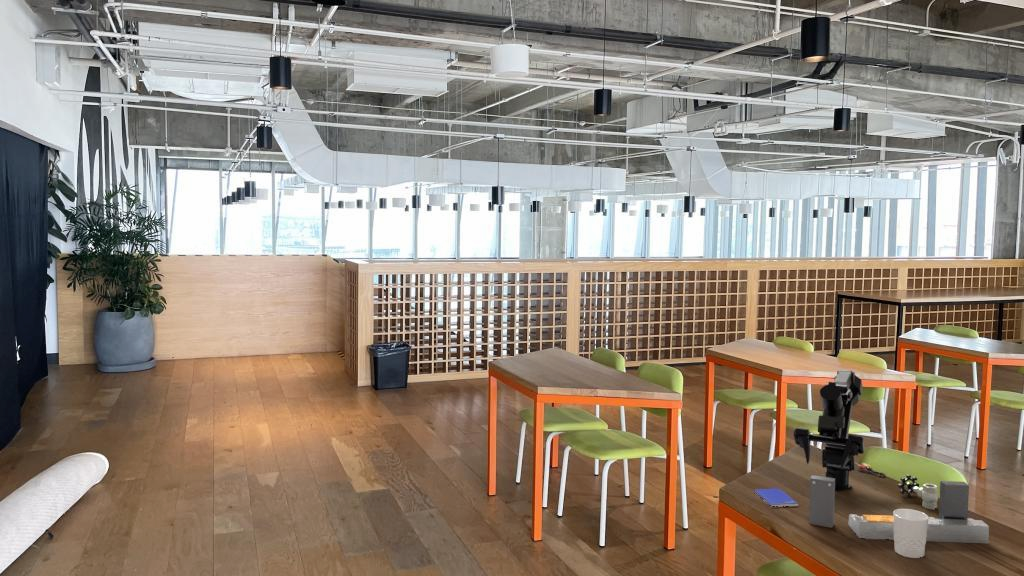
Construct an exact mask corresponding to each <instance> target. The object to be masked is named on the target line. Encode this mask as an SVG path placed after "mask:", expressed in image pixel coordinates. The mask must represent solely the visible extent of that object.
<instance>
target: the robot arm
mask: <svg viewBox="0 0 1024 576" xmlns="http://www.w3.org/2000/svg"><path fill="white" fill-rule="evenodd" d="M862 394H863V382H862V379H861V378H860V377H859V376H858V375H856V373H855V371H854V370H848V369H847V370H846V369H839V370H837V373H836V375H835V376H834V378H833V381H828V382H826V383H825V384H824V386H822V387H821V388H820V390H819V396H820V401H821V407H822V408H823V410H822V414H821V415H818V421H817V433H818V434H815V433H811V432H810V429H809V428H803V427H796V428H795V429H794V431H793V437H794V438H793V439H794V443H795V445H797V446H799V448H802V449H803V451H804V454H805V461H806V464H807V465H809V463H810V459H811V442H817V443H824V444H825V445H824V447H823V448H822V455H821V457H822V458H821V464H822V468H826V472H825V477H829V478H835V491H837V492H839V491H843V490H849V489H853V485H850V484H849V480H850V479H849V477H850V472H852V471H856V470H855V466H856V465H855V463H856V462H855V456H859V454H860V455H863V454H864V453H865V440H864V437H863V435H857V434H851V433H850V431H849V430H850V425H851V419H852V412H853V407H854V406H855V405H856V404H858V403H859V401H860V396H862ZM849 433H850V434H849Z"/></svg>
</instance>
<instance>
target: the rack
mask: <svg viewBox="0 0 1024 576" xmlns="http://www.w3.org/2000/svg"><path fill="white" fill-rule="evenodd" d="M939 482H940V483H939V484H940V485H939V505H938V507H939V508H938V518H935V517H934V516H928V527H927V537H926V542H936V543H937V542H940V543H942V542H944V543H967V544H969V543H970V544H972V543H973V544H989V539H990V538H989V535H990V526H989V525H988V524H987V523H986V522H984V521H983V520H980V519H974V518H973V517H972V518H968V517H969V499H970V498H969V497H970V485H969V484H968V483H967V482H965V481H954V480H953V481H952V480H940V481H939ZM847 523H848V524H847V525H848V527H850V529H851V530H852V531H853V532H854V533H856V534H855V535H856V536H857V537H858V539H859V538H865V540H885V539H889V540H890V541H891V540H892V541H894V532H893V515H884V514H883V515H881V514H880V515H879V514H878V515H877V514H862V515H858V514H854V513H853V514H852V513H851V514H848V522H847ZM889 540H888V541H889Z"/></svg>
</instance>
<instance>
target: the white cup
mask: <svg viewBox="0 0 1024 576" xmlns="http://www.w3.org/2000/svg"><path fill="white" fill-rule="evenodd" d="M892 513H893V514H892V516H893V532H894V540H893V542H894V543H893V544H894V545H893V546H894V547H893V548H894V552H895V553H896V554H898V555H900V556H902V557H905V558H911V559H920V557H921V558H923V557H925V551H926V544H927V541H926V537H927V527H928V517H929V515H927V514H926V513H925V512H922V511H920V510H915V509H912V508H897V509H894V510H893V512H892Z"/></svg>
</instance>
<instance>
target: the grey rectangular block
mask: <svg viewBox="0 0 1024 576" xmlns="http://www.w3.org/2000/svg"><path fill="white" fill-rule="evenodd" d="M809 481H810V482H809V483H810V484H809V512H808V513H809V519H808V524H809V525H816V526H821V527H826V528H830V529H831V528H832V529H833V527H834V525H835V497H836V496H835V495H836V494H835V493H836V490H835V478H829V477H826V476H821V475H814V474H812V475H811V476H810V479H809Z"/></svg>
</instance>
